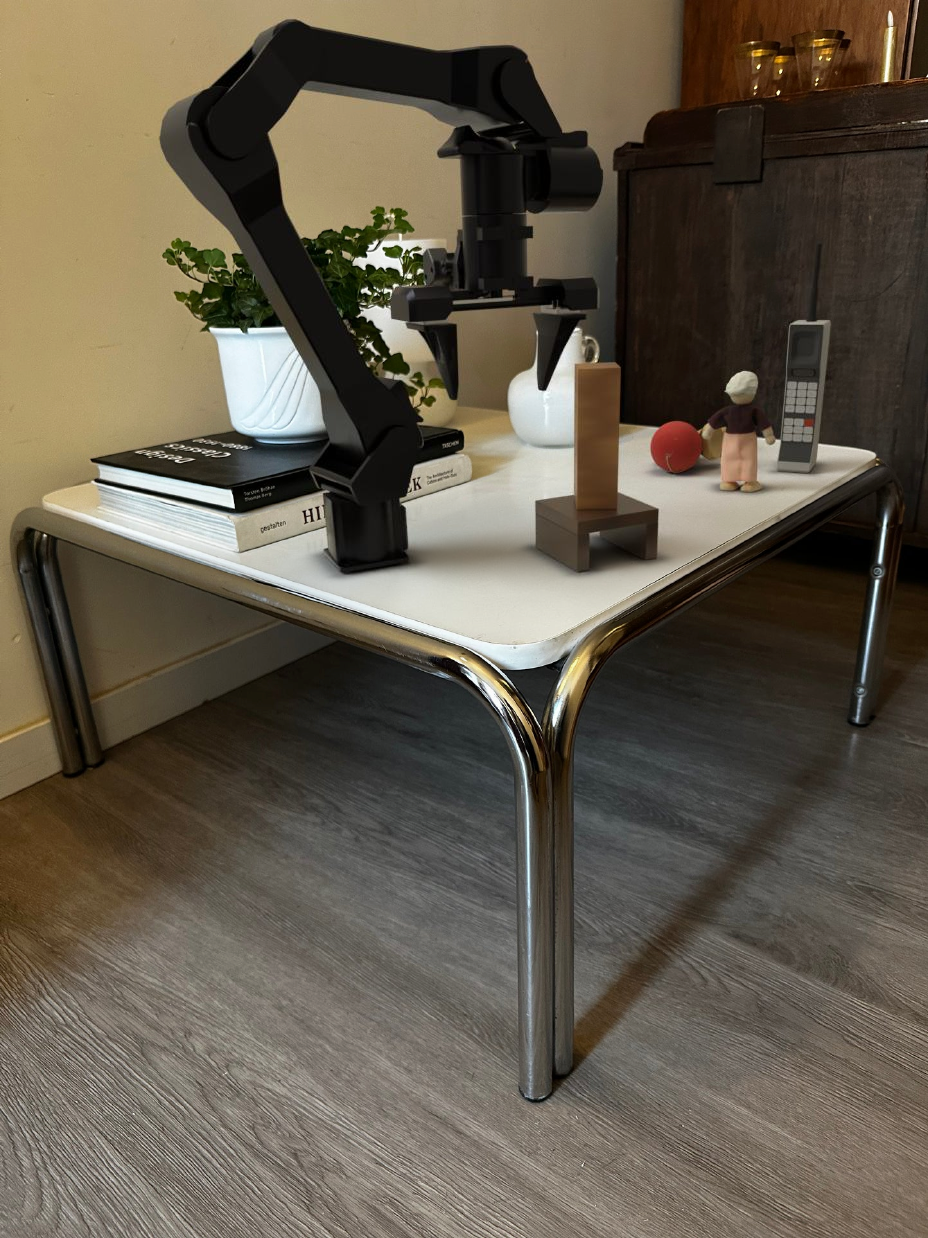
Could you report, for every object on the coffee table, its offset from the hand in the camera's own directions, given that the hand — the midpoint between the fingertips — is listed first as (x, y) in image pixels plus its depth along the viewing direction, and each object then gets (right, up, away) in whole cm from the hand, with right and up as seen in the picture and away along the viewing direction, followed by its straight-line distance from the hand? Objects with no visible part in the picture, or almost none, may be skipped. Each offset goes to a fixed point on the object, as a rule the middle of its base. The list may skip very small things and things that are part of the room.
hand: (498, 394), depth 88 cm
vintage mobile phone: (+37, -3, +23) cm, 43 cm away
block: (+8, -11, -5) cm, 15 cm away
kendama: (+26, -2, +28) cm, 38 cm away
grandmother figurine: (+27, -7, +16) cm, 32 cm away
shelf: (+9, -15, -4) cm, 18 cm away
